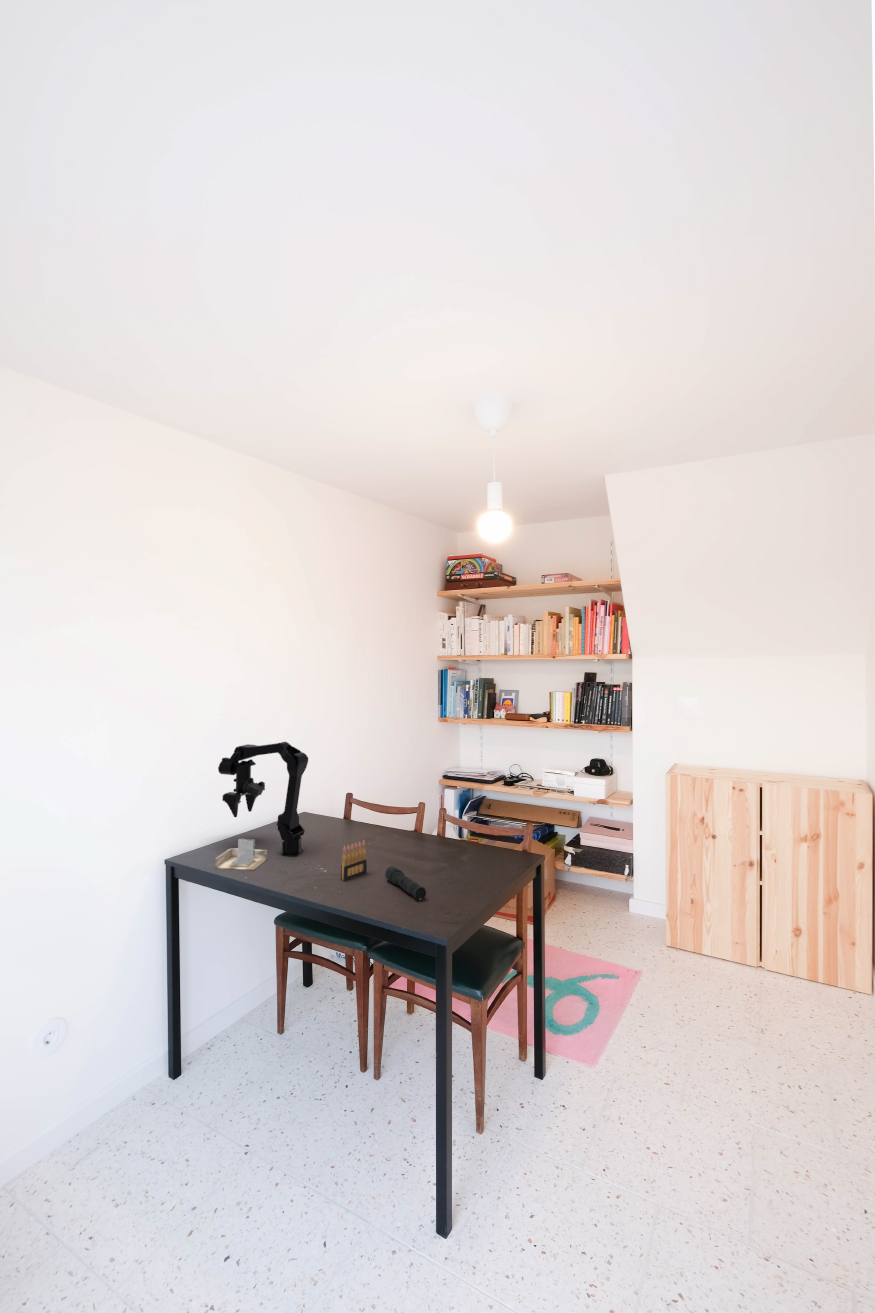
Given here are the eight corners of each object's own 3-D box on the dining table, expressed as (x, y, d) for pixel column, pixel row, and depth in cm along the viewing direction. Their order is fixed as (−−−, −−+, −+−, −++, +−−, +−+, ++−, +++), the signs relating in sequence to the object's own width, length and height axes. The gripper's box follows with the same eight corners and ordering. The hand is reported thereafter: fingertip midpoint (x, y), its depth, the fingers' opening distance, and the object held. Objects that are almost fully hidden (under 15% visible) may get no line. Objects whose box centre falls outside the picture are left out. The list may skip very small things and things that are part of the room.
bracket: (239, 859, 221) (239, 838, 221) (254, 860, 221) (255, 839, 221) (231, 866, 215) (231, 844, 215) (247, 866, 214) (247, 845, 214)
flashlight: (397, 879, 207) (397, 864, 207) (427, 900, 190) (427, 884, 190) (384, 881, 204) (384, 867, 204) (413, 903, 187) (414, 887, 187)
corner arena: (267, 859, 224) (267, 850, 224) (254, 870, 212) (254, 861, 212) (229, 857, 225) (230, 848, 225) (214, 868, 214) (214, 858, 214)
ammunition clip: (343, 881, 203) (344, 847, 203) (340, 880, 204) (340, 845, 204) (366, 873, 211) (367, 840, 211) (363, 872, 212) (363, 839, 212)
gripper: (245, 782, 227) (245, 822, 227) (273, 773, 245) (273, 810, 245) (221, 779, 231) (221, 819, 231) (251, 771, 248) (250, 808, 248)
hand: (242, 814), depth 238 cm, fingers open, 9 cm apart
